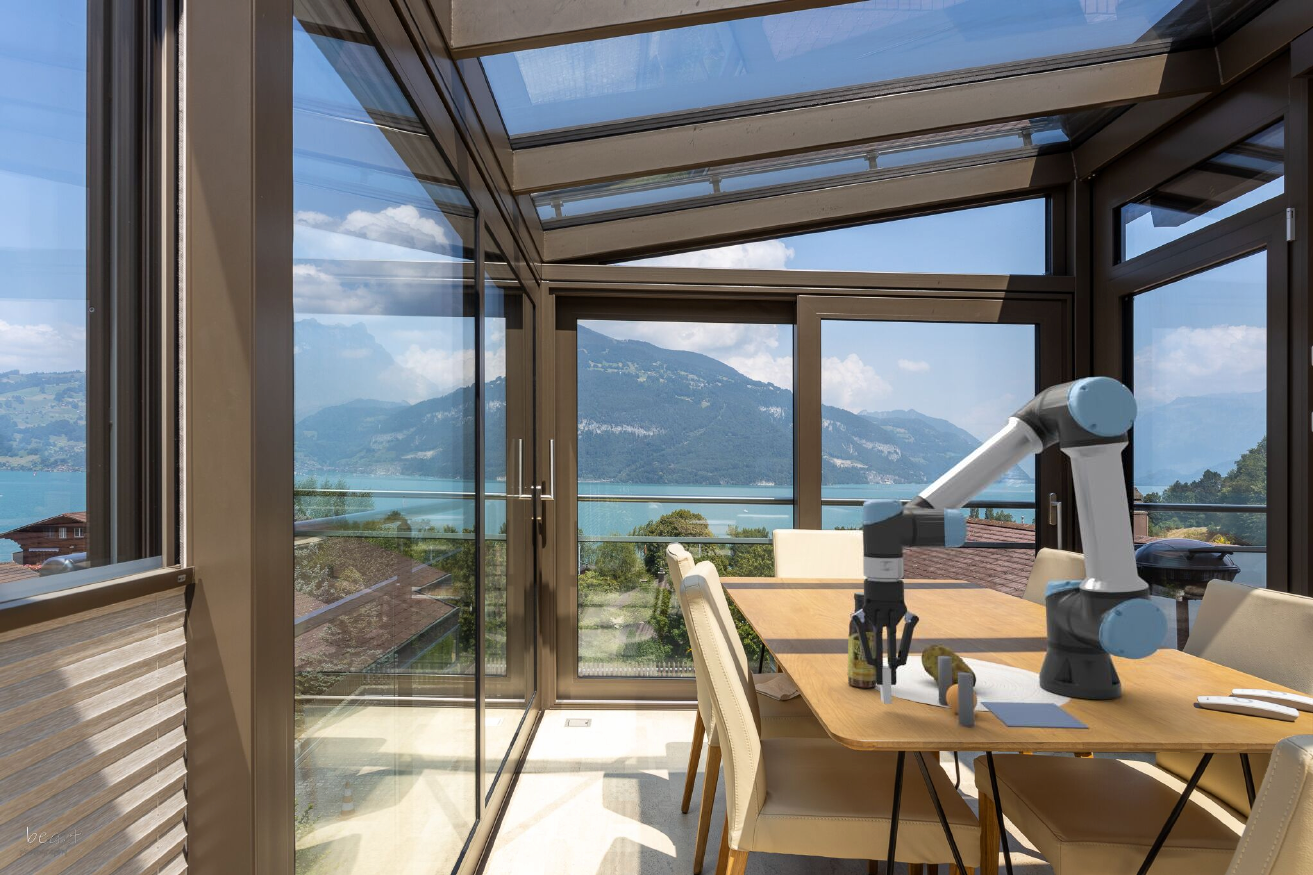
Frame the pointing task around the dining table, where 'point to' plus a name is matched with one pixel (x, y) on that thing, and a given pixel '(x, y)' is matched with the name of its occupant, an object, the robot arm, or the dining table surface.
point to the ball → (956, 698)
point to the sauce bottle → (860, 651)
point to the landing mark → (1033, 715)
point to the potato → (931, 663)
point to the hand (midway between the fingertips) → (886, 701)
